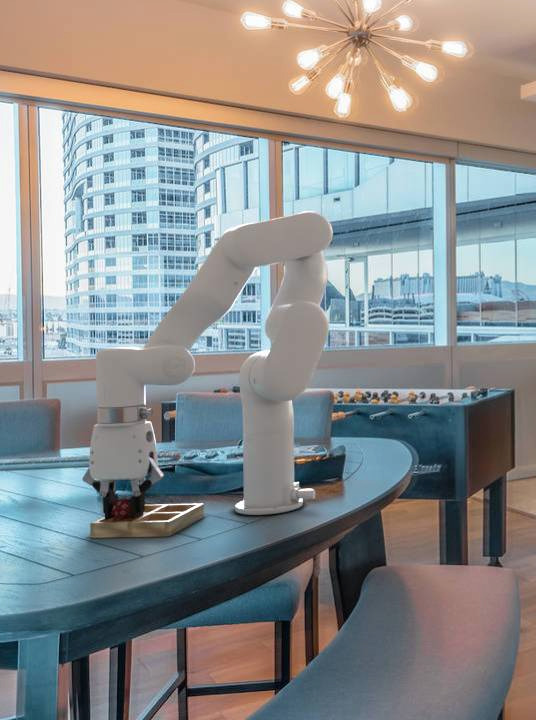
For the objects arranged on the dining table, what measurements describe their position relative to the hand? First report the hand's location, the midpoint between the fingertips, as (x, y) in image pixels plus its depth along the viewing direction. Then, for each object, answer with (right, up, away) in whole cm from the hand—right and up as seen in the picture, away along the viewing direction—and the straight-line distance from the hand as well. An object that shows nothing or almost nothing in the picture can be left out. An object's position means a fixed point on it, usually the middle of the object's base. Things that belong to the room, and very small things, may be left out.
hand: (124, 516), depth 145 cm
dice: (0, -1, 0) cm, 1 cm away
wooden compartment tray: (+3, -3, +3) cm, 5 cm away
